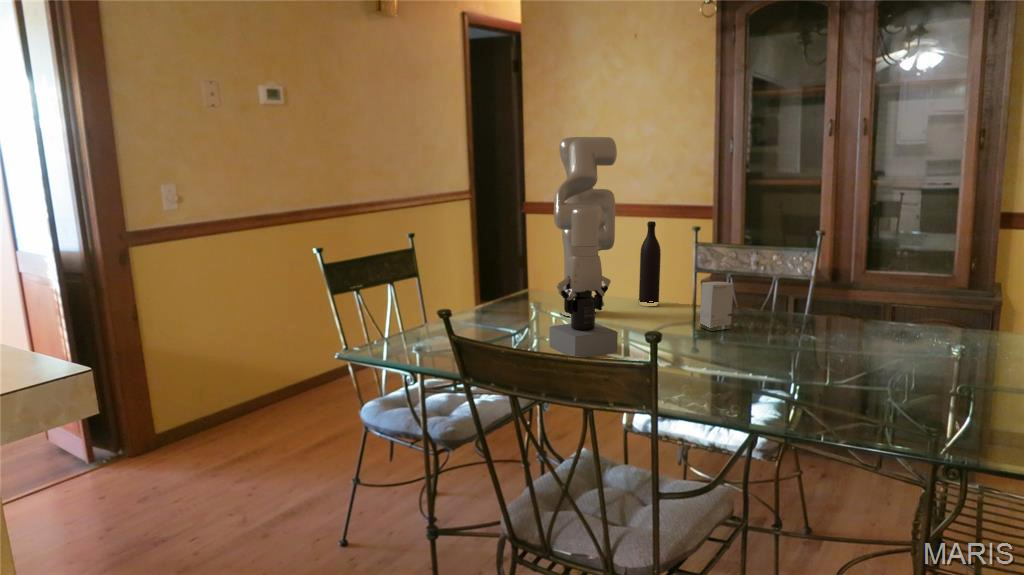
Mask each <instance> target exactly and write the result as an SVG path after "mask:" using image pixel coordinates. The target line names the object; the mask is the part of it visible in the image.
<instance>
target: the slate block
mask: <svg viewBox="0 0 1024 575" xmlns="http://www.w3.org/2000/svg"><path fill="white" fill-rule="evenodd" d="M618 336H619V332H618V331H616V330H614V329H612V328H609V327H607V326H604V325H602V324H600V323H596V322H595V328H594V329H592V330H588V331H578V330H574V329H572V328H571V323H564V324H563V323H562V324H557V325H551V326H549V339H548V340H549V341H548V342H549V348H551V349H553V350H555V351H557V352H559V353H561V354H563V355H565V356H567V355H572V356H579V357H586V358H592V357H598V356H602V355H603V356H604V355H611V354H616V353H618V339H619V338H618Z"/></svg>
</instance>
